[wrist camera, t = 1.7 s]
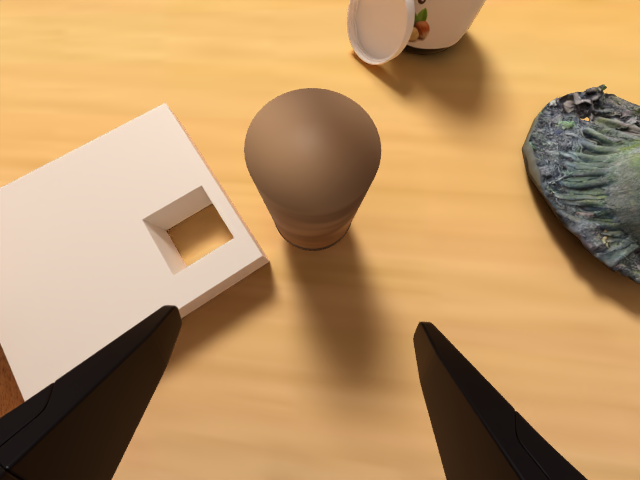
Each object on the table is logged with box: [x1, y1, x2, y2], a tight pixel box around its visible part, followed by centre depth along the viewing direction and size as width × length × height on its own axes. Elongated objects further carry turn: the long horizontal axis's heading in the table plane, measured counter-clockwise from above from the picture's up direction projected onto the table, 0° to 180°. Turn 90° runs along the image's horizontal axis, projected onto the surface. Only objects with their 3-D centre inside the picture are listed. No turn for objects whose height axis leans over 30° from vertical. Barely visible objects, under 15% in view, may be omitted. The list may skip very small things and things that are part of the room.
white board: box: [0, 103, 270, 401], centre depth 22 cm, size 18×16×4 cm
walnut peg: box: [244, 88, 381, 251], centre depth 19 cm, size 6×6×12 cm
